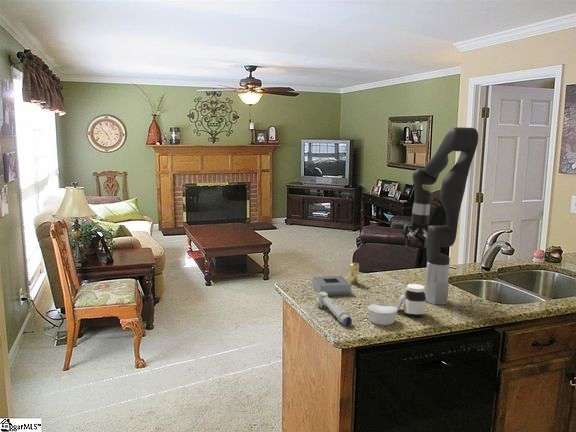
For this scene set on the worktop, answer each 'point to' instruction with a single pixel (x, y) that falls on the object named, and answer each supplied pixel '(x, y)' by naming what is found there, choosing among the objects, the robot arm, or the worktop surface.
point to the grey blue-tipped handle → (333, 308)
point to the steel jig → (332, 285)
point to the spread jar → (413, 300)
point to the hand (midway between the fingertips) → (416, 247)
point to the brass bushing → (354, 273)
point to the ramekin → (382, 313)
